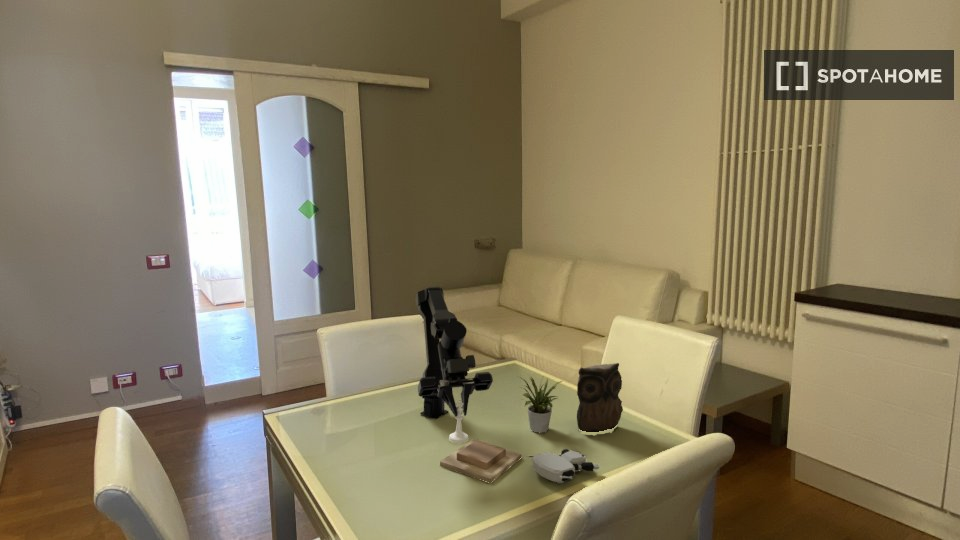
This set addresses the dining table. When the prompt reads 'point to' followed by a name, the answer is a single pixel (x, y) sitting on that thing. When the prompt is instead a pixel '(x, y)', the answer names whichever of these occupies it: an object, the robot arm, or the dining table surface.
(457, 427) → the chess piece
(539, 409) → the house plant
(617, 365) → the owl
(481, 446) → the pedestal
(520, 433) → the dining table surface
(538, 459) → the robot toy
